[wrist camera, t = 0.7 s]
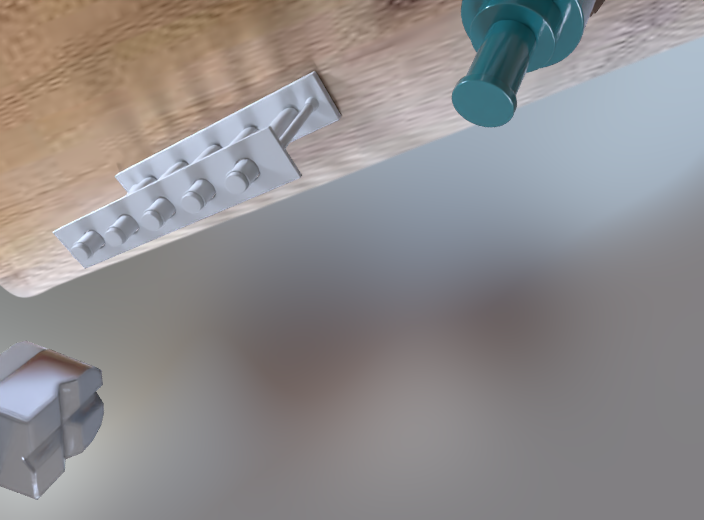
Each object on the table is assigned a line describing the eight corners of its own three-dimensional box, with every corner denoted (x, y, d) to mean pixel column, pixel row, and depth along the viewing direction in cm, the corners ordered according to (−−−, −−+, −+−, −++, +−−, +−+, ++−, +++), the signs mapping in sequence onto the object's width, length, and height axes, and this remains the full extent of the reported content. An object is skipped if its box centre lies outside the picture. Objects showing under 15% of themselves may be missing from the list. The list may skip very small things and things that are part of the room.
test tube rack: (315, 70, 50) (256, 139, 40) (341, 116, 52) (292, 193, 42) (118, 172, 62) (35, 246, 52) (145, 207, 64) (70, 284, 54)
